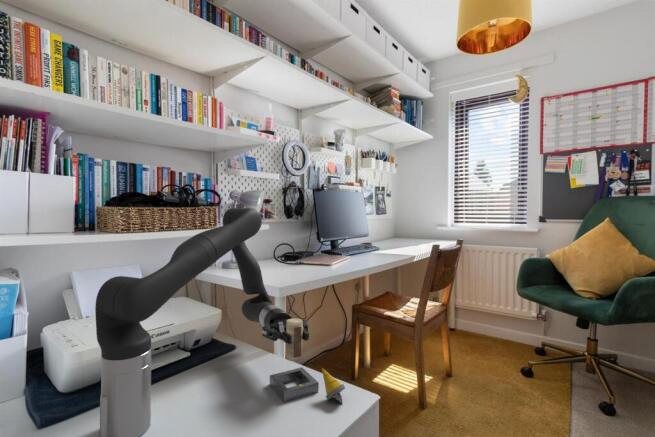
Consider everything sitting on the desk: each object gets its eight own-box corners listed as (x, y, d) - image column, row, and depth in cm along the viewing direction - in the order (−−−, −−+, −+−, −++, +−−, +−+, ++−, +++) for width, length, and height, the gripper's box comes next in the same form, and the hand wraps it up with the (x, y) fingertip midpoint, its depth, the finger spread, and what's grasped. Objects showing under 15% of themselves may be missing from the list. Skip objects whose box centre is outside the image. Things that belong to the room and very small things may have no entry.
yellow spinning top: (331, 412, 80) (310, 374, 85) (336, 410, 85) (316, 374, 89) (349, 398, 80) (327, 361, 85) (353, 397, 85) (332, 362, 90)
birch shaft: (290, 362, 87) (290, 324, 87) (283, 355, 91) (283, 319, 90) (305, 358, 89) (305, 322, 89) (297, 352, 93) (298, 317, 93)
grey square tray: (284, 402, 83) (284, 391, 83) (269, 384, 91) (269, 374, 91) (318, 391, 88) (318, 381, 88) (301, 375, 97) (301, 366, 97)
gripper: (252, 311, 98) (273, 329, 84) (295, 304, 106) (322, 320, 91) (252, 336, 98) (273, 358, 84) (295, 328, 106) (322, 347, 91)
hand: (298, 338), depth 87 cm, fingers closed on birch shaft, 4 cm apart
